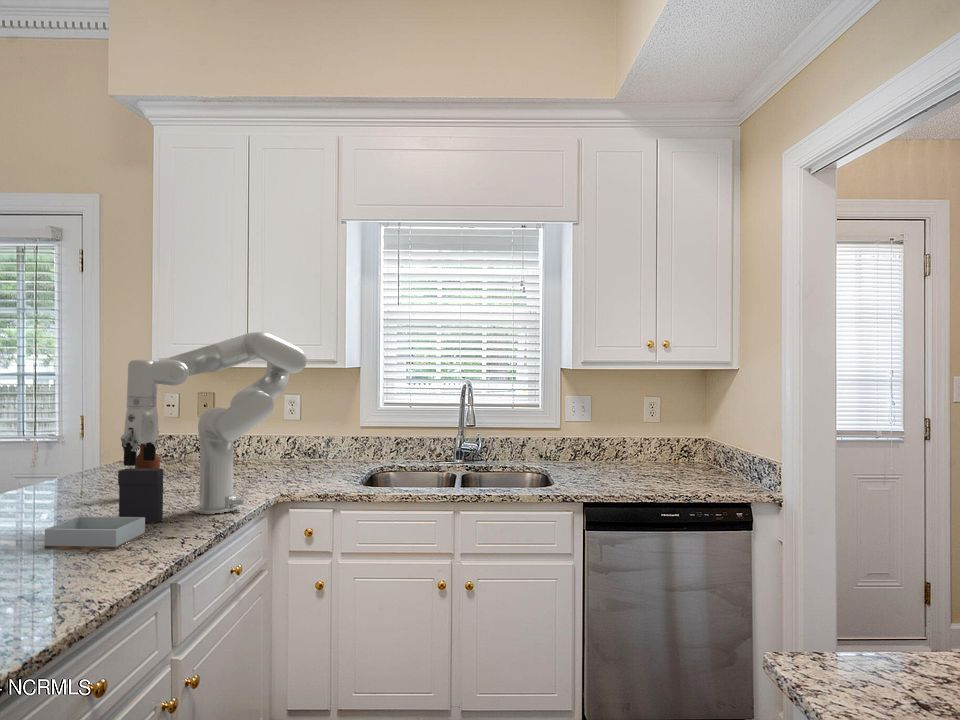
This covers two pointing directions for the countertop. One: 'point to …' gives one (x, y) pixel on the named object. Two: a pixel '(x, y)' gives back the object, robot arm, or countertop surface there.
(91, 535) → the grey tray
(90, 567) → the countertop surface
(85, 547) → the pen board
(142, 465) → the bottle
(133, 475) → the tall charcoal block
